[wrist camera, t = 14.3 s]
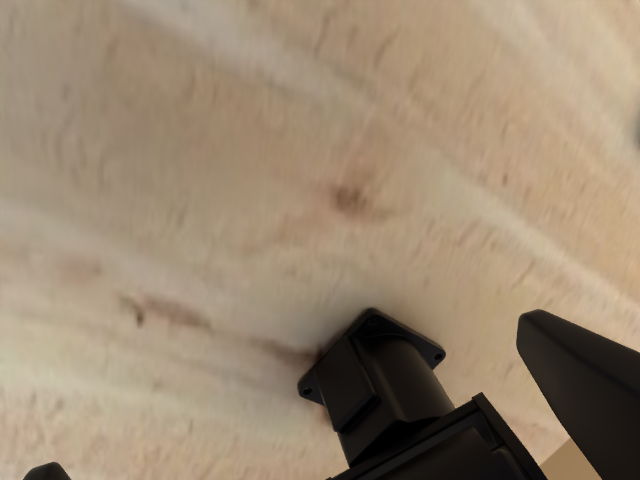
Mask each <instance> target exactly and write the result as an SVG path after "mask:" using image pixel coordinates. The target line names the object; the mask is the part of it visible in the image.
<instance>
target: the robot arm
mask: <svg viewBox="0 0 640 480" xmlns="http://www.w3.org/2000/svg"><path fill="white" fill-rule="evenodd" d="M371 318H374V319H372V320H370V319H371ZM369 320H370V321H369ZM516 345H517V350H518V352H519V354H520V356H521V358H522V360H523V361H524V363H525V365H526V366H527V368H528V370H529V371H530V373H531V375H532V377H533V378H534V380H535V382H536V383H537V385H538V387H539V388H540V390H541V392H542V393H543V395H544V397H545V399H546V400H547V402H548V404H549V405H550V407H551V409H552V410H553V412H554V414H555V415H556V417H557V418H558V420H559V421H560V423H561V424H562V426H563V427H564V428H565V430H566V431H567V433H568V434H569V435H570V437H571V438H572V439H573V441H574V442H575V443H576V445H577V446H578V447H579V449H580V450H581V451H582V453H583V454H584V455H585V457H586V458H587V460H588V461H589V462H590V463H591V465H592V466H593V467H594V469H595V470H596V472H597V473H598V474H599V476H600V477H601V478H602V480H640V353H639V352H637V351H635V350H633V349H630V348H628V347H626V346H623V345H621V344H619V343H617V342H614V341H612V340H610V339H608V338H605V337H603V336H601V335H599V334H596V333H594V332H592V331H589V330H587V329H585V328H583V327H580V326H578V325H576V324H574V323H571V322H569V321H567V320H565V319H562V318H560V317H558V316H555V315H553V314H551V313H549V312H546V311H544V310H540V309H537V310H533V311H530V312H527V313H523V314H522V315H521V316H520V317H519V320H518V330H517V340H516ZM445 356H446V352H445V351H444V349H443V348H442V347H441V346H440V345H438V344H436V343H434V342H433V341H431V340H429V339H427V338H425V337H424V336H422V335H420V334H418V333H417V332H415V331H413V330H411V329H409V328H408V327H406V326H404V325H402V324H401V323H399V322H397V321H395V320H393V319H392V318H390V317H388V316H386V315H385V314H383V313H381V312H379V311H377V310H375V309H370V310H368V311H366V312H365V313H364V314H363V315H362V316H361V317H360V318H359V319H358V320H357V321H356V322H355V323H354V324H353V326H352V327H351V328H350V329H349V330H348V331H347V332H346V333H345V334H344V335H343V336H342V337H341V339H340V340H339V341H338V342H337V343H336V344H335V345H334V346H333V347H332V348H331V349H330V350H329V351H328V353H327V354H326V355H325V356H324V357H323V358H322V359H321V360H320V361H319V362H318V363H317V364H316V366H315V367H314V368H313V369H312V370H311V371H310V372H309V373H308V374H307V375H306V376H305V377H304V379H303V380H302V381H301V382H300V383H299V384H298V387H297V389H298V392H299V395H300V396H301V397H303V398H305V399H308V400H311V401H313V402H316V403H318V404H321V405H323V406H325V407H326V410H327V413H328V416H329V419H330V422H331V425H332V428H333V430H334V431H335V432H337V434H338V437H339V440H340V443H341V446H342V449H343V452H344V454H345V457H346V460H347V463H348V466H349V469H348V470H346V471H344V472H342V473H340V474H339V475H337V476H335V477H333V478H331V477H329V478H327V479H326V480H548V479H547V478H546V476H545V475H544V474H543V472H542V470H541V469H540V467H539V466H538V464H537V463H536V462H535V460H534V459H533V457H532V456H531V455H530V453H529V452H528V451H527V449H526V448H525V447H524V445H523V444H522V443H521V441H520V440H519V439H518V438H517V436H516V435H515V434H514V432H513V431H512V430H511V429H510V427H509V426H508V425H507V424H506V422H505V421H504V420H503V418H502V417H501V416H500V415H499V413H498V412H497V411H496V409H495V408H494V407H493V406H492V404H491V403H490V402H489V401H488V399H487V398H486V397H485V395H484V394H483V393H482V392H481V393H479V394H477V395H475V396H474V397H472V400H471V401H469V402H467V403H465V404H464V405H462V406H460V407H458V408H455V407H454V405H453V403H452V402H451V400H450V399H449V397H448V395H447V394H446V392H445V390H444V389H443V387H442V386H441V384H440V382H439V381H438V379H437V378H436V376H435V374H434V373H433V371H432V370H433V369H434V368H435V367H436V366H437V365H438V364H439V363H440V362H441V361H442V360H443V359H444V358H445ZM306 388H308V389H306ZM23 480H71V479H70V477H69V476H68V475H67V473H66V472H65V471H64V469H63V468H62V467H61V465H60V464H59V463H56V462H51V463H48V464H44V465H41V466H38V467H35V468H33V469H31V470H30V471H29V472H28V473H27V475H26V476H25V477H24V479H23Z"/></svg>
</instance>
